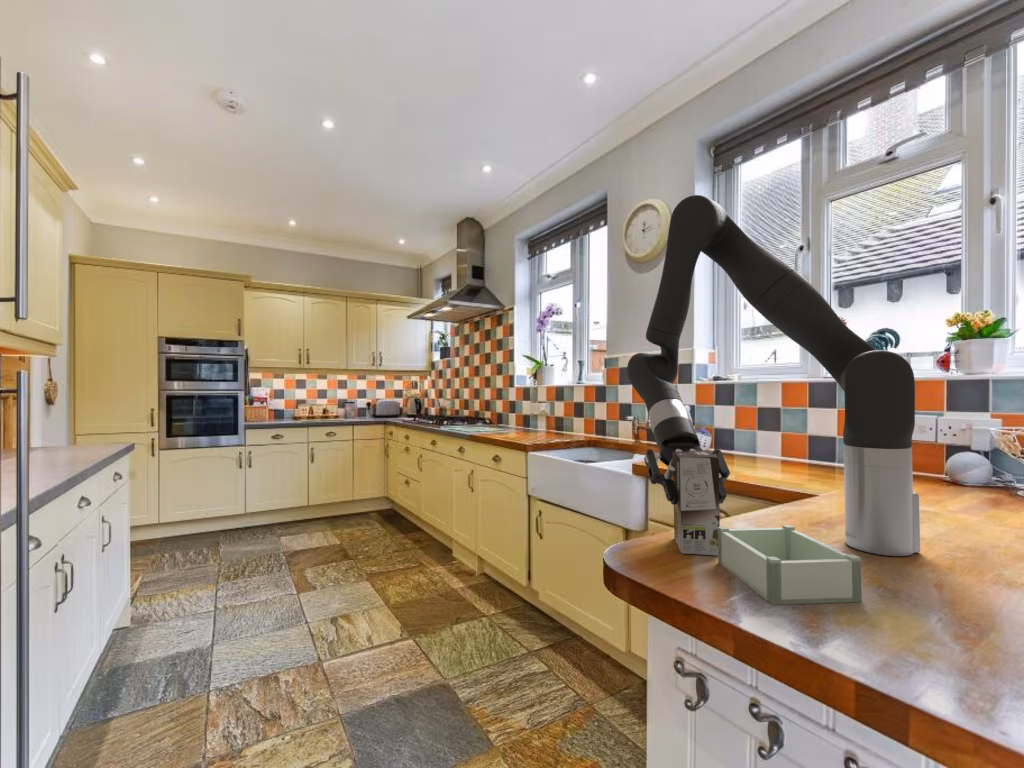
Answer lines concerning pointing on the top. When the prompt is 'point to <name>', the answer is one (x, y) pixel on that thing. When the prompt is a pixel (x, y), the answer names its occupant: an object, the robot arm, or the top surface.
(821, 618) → the top surface
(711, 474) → the coffee box
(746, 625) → the top surface
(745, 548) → the crate
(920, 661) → the top surface
